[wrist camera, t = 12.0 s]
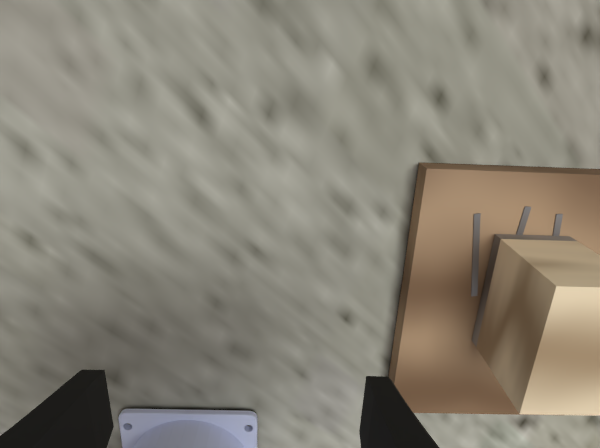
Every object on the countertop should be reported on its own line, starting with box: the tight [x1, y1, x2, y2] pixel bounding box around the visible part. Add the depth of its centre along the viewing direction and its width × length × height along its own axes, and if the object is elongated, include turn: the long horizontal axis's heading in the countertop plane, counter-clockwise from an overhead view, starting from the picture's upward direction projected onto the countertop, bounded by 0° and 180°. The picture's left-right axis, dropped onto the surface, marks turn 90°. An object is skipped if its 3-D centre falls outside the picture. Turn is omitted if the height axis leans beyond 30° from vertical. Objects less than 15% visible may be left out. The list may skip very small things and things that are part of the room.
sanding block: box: [472, 234, 600, 416], centre depth 19 cm, size 6×4×5 cm, turn 178°
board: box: [389, 163, 600, 415], centre depth 22 cm, size 14×10×1 cm
